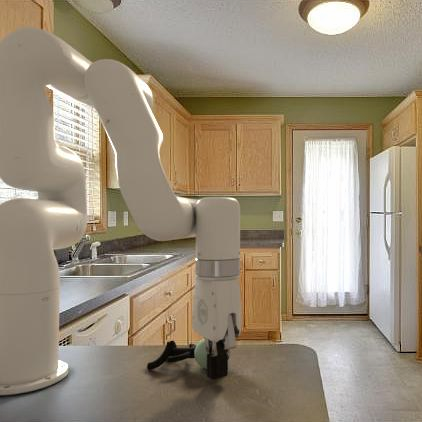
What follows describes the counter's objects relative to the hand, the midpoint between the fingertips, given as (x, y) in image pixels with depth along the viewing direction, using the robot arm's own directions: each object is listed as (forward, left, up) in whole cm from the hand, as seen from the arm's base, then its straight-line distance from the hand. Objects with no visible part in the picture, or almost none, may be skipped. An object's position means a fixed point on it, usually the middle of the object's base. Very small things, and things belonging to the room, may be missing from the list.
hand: (217, 376), depth 65 cm
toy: (0, +10, -1) cm, 10 cm away
